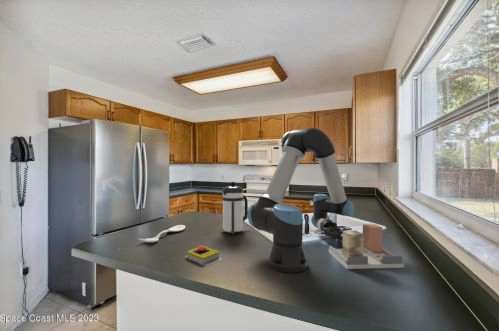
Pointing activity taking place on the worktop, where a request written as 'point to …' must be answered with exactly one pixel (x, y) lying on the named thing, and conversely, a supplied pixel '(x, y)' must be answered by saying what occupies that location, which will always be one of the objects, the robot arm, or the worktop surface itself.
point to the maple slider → (352, 243)
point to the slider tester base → (368, 259)
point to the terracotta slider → (372, 237)
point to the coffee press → (233, 209)
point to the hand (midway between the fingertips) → (350, 242)
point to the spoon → (172, 229)
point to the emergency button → (203, 255)
